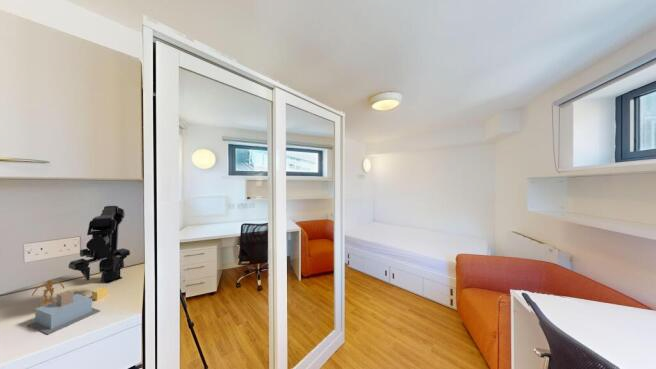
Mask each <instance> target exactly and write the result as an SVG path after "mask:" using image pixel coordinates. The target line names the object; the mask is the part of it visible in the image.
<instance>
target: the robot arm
mask: <svg viewBox="0 0 656 369" xmlns="http://www.w3.org/2000/svg"><path fill="white" fill-rule="evenodd" d="M125 213H126V212H125V210H124V209H123V208H121V207H119V206H118V205H106V206H103V209H102V211H101V214H100V215H99V216H95V217H93V218H92V219H91V220H90V221H89V224H88V229H87V234H86V235H87V236H92V237H91V238H90V239H89V241H87V242H86V245H85V246H86V248H84V249H80V251H79V256H80V257H86V258H88V259H85V258H80V259H75V260H71V261H69V263H68V269H71V270H74V271H79V272H80V273H81V274H82V276H83V277H84V279H85V280H86V281H90V278H91V277H90V276H91V267H90V265H91V264H93V263H96V262H99V264H98V270H99V273H101V277H100V278H101V279H100V282H101V283H105V284H109V283H113V282H115V281H118V280H120V279H123V276H121V270H122V268H124V267H125V261H124V260H125V259H126V258H127V257H128V256H130V255H131V250H130V249H127V248H119V249H118V244H119V243H118V242H119V226H120V224H121V223H122V222H123V220H124V218H125V215H126V214H125Z"/></svg>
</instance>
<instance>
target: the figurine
mask: <svg viewBox="0 0 656 369" xmlns="http://www.w3.org/2000/svg"><path fill="white" fill-rule="evenodd" d="M54 284H59V285H60V287H61V288H62V289H65V286H64V284H62V282H61V281H54V280H47V281H46V282H45V283H42V284H41V285H38V286H37V287H36V288H35V290H33V291H32V294H31V297H33V296H34V294H35V293H36V292H37V290H38V289H39V288H42V287H44V288H45V289H44V290H43V293H42V294H43V298H44V301H43V302H41V303H40V305H39V307H41V306H44V305H47V304H50V303H52V302H55V301H56V300H55V299H53V295H54V292H55V291H54V290H55V288H54V287H53V286H54ZM48 292H49V293H50V296H49V297H50V298H49V299H48V298H47V294H48Z"/></svg>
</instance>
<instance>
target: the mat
mask: <svg viewBox="0 0 656 369" xmlns="http://www.w3.org/2000/svg"><path fill="white" fill-rule="evenodd" d="M99 312H101V310H99V309H97V308H95V307H92V311H91V312H89V313H87V314H84V315H82V316H80V317H77V318H75V319H73V320H71V321H68V322H66V323H64V324H61V325H59V326H57V327H55V328H52V329H49V328H47V327H45V326H43V325H41V324H38V323H36V322H35V321H33V322H31V323H29V324H28V323H27V326H28V327H30V328H32V329H33V330H37V331H38V332H41V333H43V334H45V335H47V336H48V335H50V334H53V333H55V332H57V331H60V330H62V329H64V328H66V327H68V326H70V325H73V324H75V323H77V322H80V321H82V320H84V319H87V318H88V317H90V316H93V315H96V313H99Z"/></svg>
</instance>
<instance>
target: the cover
mask: <svg viewBox="0 0 656 369" xmlns="http://www.w3.org/2000/svg"><path fill="white" fill-rule="evenodd" d="M92 308H93V299H92V297H88V296H84V295H81V294H79V293H75V294H74V291H73V290H70V289H68V290H65V291H63V292H60V293H57V294H56V300H55V302H52V303H50V304H47V305H44V306H41V307H40V306H39V307H36V308H35V314H34V315H35V316H34V320H35V321H34V322H36V323H38V324H41V325H43V326H45V327H47V328H49V329H52V328H55V327H57V326H59V325H61V324H64V323H66V322H68V321H71V320H73V319H75V318H77V317H80V316H82V315H84V314H87V313H89V312H91V311H92Z"/></svg>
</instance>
